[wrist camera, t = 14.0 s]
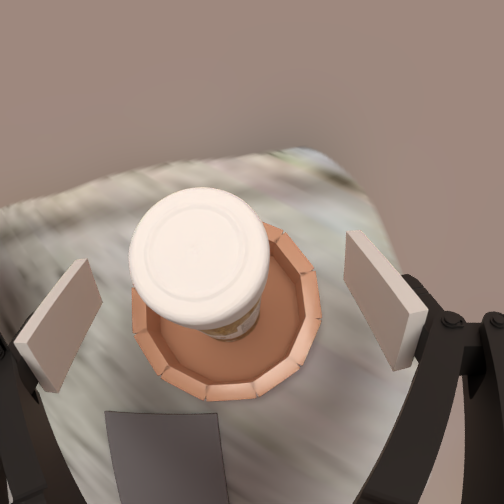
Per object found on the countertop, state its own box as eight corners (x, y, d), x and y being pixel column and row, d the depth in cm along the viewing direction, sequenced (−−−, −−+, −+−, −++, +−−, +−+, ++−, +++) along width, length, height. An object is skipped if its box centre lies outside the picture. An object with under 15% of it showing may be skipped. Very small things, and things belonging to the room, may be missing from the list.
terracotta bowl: (156, 394, 21) (137, 401, 17) (149, 243, 25) (133, 225, 21) (318, 383, 21) (329, 388, 17) (298, 228, 25) (304, 207, 21)
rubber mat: (123, 505, 18) (122, 507, 17) (106, 410, 20) (104, 411, 20) (230, 513, 18) (230, 515, 17) (217, 413, 20) (216, 414, 20)
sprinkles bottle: (185, 321, 22) (98, 272, 9) (218, 268, 23) (177, 162, 10) (240, 355, 21) (219, 355, 8) (273, 299, 22) (297, 221, 10)
